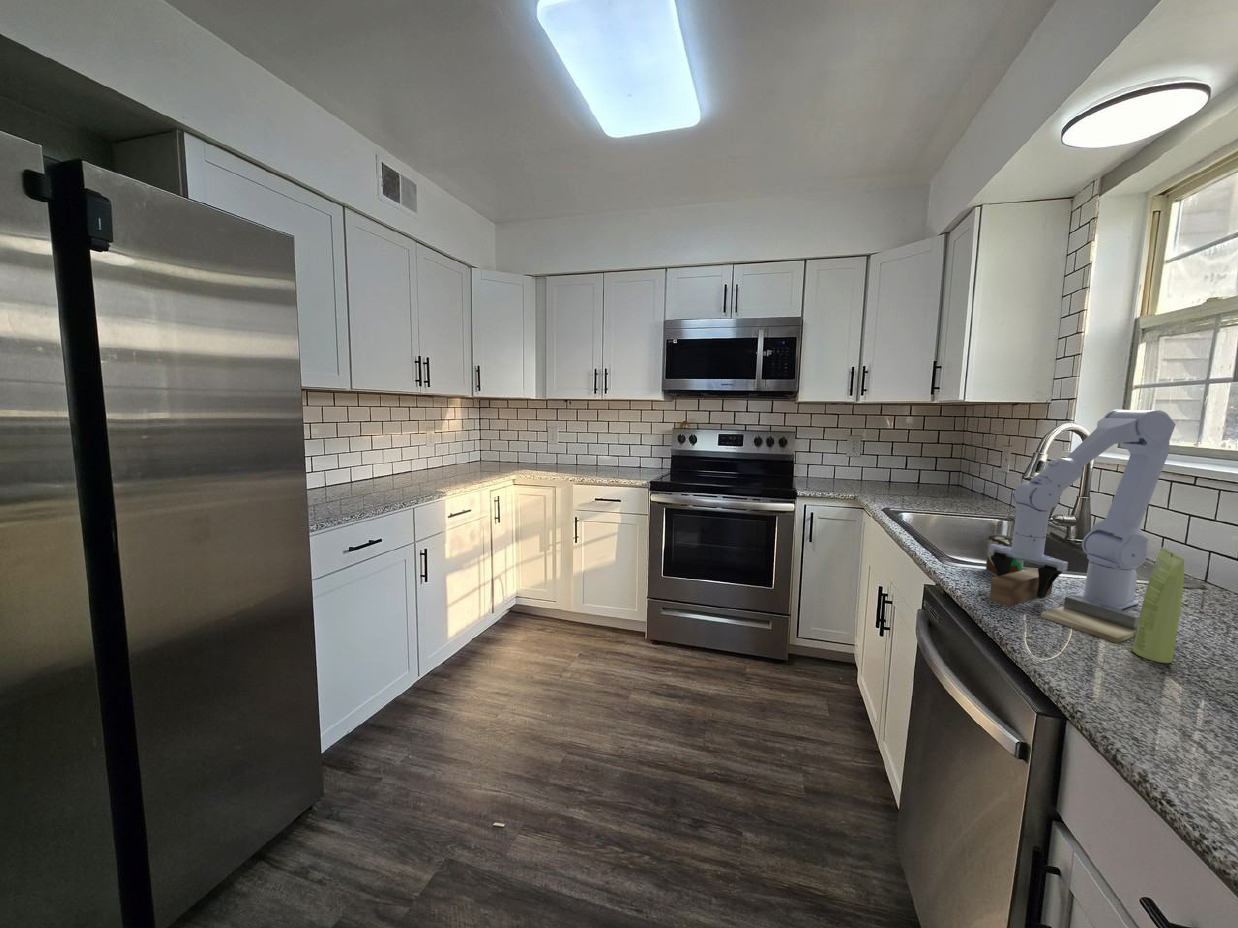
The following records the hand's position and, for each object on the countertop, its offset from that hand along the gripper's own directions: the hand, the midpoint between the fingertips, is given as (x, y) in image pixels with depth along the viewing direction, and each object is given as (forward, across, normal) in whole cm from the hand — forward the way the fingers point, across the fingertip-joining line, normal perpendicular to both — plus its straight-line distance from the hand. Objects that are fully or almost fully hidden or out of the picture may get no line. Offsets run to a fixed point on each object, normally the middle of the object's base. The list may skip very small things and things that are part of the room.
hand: (1021, 590), depth 113 cm
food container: (+2, -9, +13) cm, 16 cm away
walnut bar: (+2, 0, 0) cm, 2 cm away
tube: (+2, +25, -10) cm, 27 cm away
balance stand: (+1, +14, 0) cm, 14 cm away
